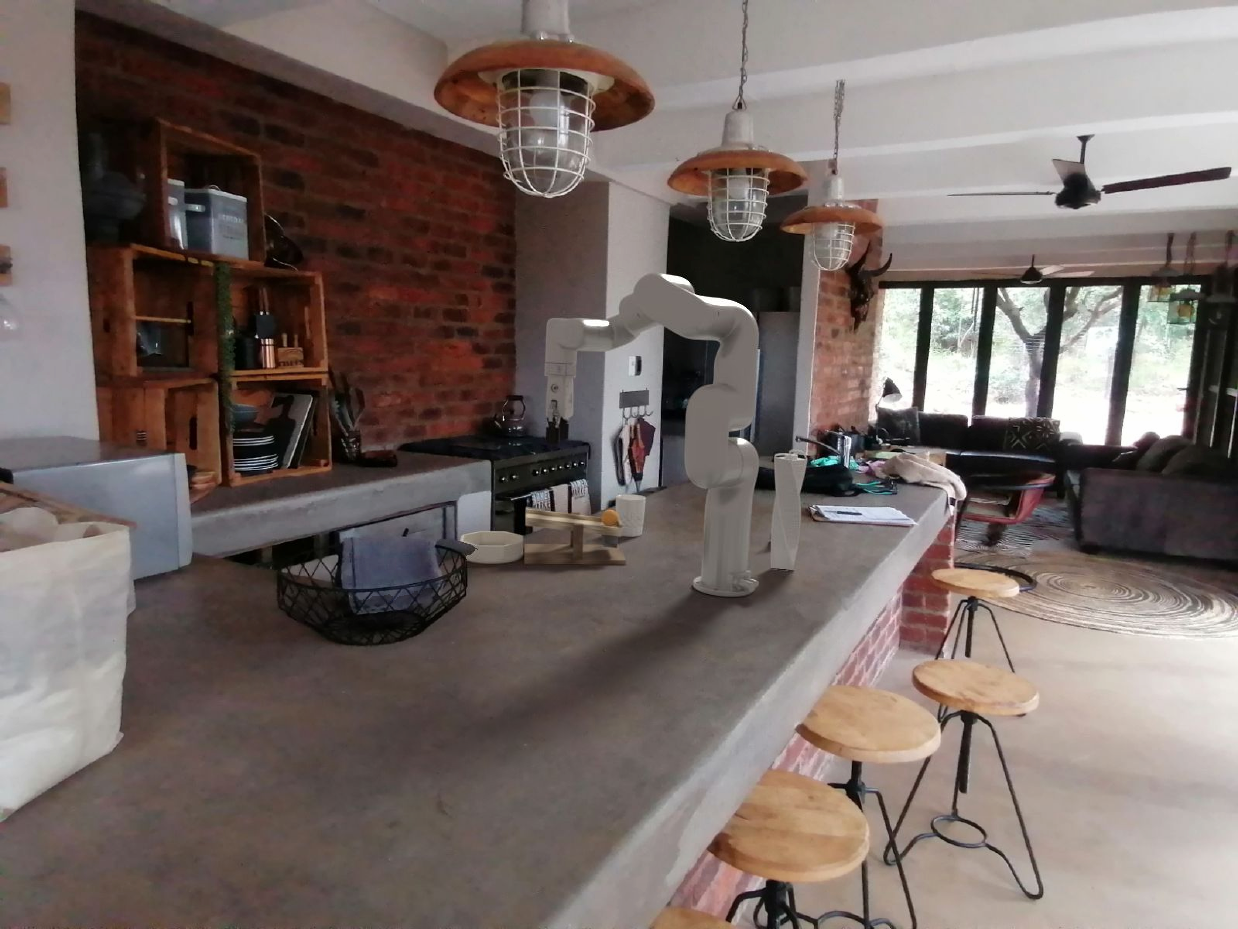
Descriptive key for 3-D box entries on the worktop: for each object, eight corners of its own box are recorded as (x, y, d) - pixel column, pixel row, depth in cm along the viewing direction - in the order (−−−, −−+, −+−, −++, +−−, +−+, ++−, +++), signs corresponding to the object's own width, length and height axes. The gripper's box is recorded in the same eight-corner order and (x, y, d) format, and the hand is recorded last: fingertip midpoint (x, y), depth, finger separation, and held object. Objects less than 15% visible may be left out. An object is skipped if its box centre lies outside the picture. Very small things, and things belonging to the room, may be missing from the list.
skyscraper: (799, 573, 179) (809, 450, 175) (766, 570, 181) (774, 448, 177) (798, 564, 187) (807, 446, 183) (766, 561, 188) (775, 444, 184)
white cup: (641, 538, 206) (642, 500, 204) (611, 536, 207) (613, 498, 206) (646, 532, 214) (648, 495, 212) (617, 529, 215) (619, 493, 214)
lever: (611, 533, 198) (615, 511, 197) (619, 549, 182) (623, 525, 181) (523, 522, 195) (526, 500, 194) (523, 538, 179) (527, 514, 178)
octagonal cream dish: (523, 547, 192) (523, 531, 191) (523, 563, 178) (523, 546, 177) (462, 547, 190) (462, 530, 189) (457, 563, 176) (457, 545, 175)
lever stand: (618, 548, 194) (620, 512, 193) (625, 564, 181) (627, 525, 179) (524, 547, 192) (525, 511, 190) (524, 563, 178) (525, 524, 176)
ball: (617, 530, 186) (624, 514, 185) (605, 527, 183) (611, 511, 183) (608, 524, 189) (614, 509, 188) (595, 521, 186) (601, 505, 186)
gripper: (567, 373, 180) (564, 447, 183) (583, 370, 197) (579, 438, 200) (535, 370, 181) (532, 444, 184) (553, 368, 198) (550, 436, 201)
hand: (557, 441), depth 192 cm, fingers open, 9 cm apart
